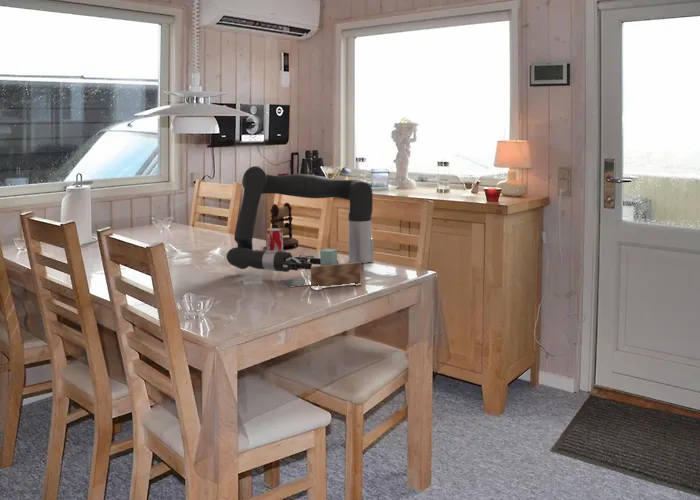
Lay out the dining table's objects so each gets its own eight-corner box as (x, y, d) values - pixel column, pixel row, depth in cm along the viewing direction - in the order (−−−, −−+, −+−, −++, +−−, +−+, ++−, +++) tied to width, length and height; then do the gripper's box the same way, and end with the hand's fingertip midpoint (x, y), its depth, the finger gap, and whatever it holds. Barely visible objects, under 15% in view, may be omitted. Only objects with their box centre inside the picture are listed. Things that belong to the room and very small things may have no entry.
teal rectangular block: (326, 280, 265) (325, 248, 263) (337, 281, 264) (337, 249, 261) (320, 283, 261) (320, 250, 259) (332, 284, 259) (331, 251, 257)
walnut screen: (356, 282, 261) (356, 260, 260) (362, 285, 257) (362, 263, 255) (309, 287, 255) (309, 265, 253) (314, 291, 250) (313, 268, 249)
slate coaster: (305, 278, 268) (305, 277, 268) (314, 284, 259) (314, 283, 259) (279, 281, 265) (279, 280, 264) (287, 287, 255) (287, 286, 255)
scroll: (286, 242, 341) (285, 200, 337) (305, 246, 330) (303, 203, 326) (260, 246, 332) (258, 203, 328) (278, 251, 321) (276, 206, 317)
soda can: (280, 258, 305) (279, 230, 302) (264, 258, 306) (263, 230, 304) (285, 255, 311) (284, 227, 309) (269, 255, 313) (268, 227, 310)
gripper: (267, 254, 262) (307, 257, 256) (286, 247, 275) (324, 250, 268) (268, 275, 263) (308, 278, 257) (286, 266, 276) (325, 269, 270)
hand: (316, 263), depth 263 cm, fingers open, 8 cm apart
